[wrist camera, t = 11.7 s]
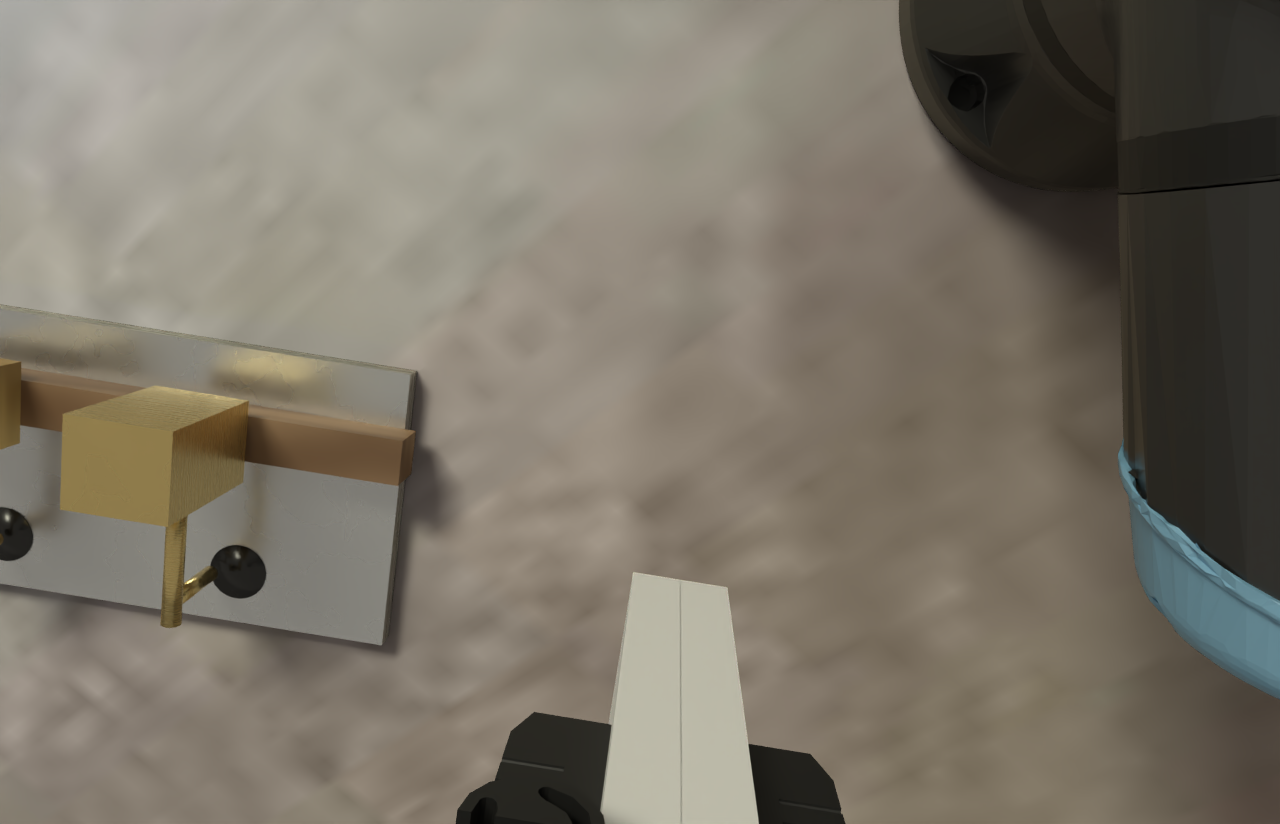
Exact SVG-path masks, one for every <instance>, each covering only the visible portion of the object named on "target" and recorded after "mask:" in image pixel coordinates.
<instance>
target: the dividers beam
mask: <svg viewBox="0 0 1280 824" xmlns="http://www.w3.org/2000/svg"><path fill="white" fill-rule="evenodd" d="M142 389H145V387H138V386H132V385H126V384H120V383H113V382H107V381H101V380H95V379H88V378H82V377H76V376H70V375H63V374H57V373H51V372H45V371H38V370H32V369H26V368H21V361H14V360H8V359H2V358H0V450H1V449H4V448H7V447H10V446H13V445H16V444H19V443H20V425H21V426H28V427H34V428H40V429H46V430H53V431H59V432H62V423H63V414H64V413H68V412H71V411H74V410H77V409H81V408H84V407H87V406H90V405H94V404H97V403H100V402H103V401H107V400H110V399H113V398H116V397H120V396H123V395H126V394H129V393H132V392H136V391H139V390H142ZM415 434H416V431H413V430H407V429H400V428H394V427H388V426H382V425H375V424H369V423H363V422H357V421H350V420H344V419H338V418H332V417H325V416H319V415H313V414H307V413H301V412H294V411H288V410H282V409H276V408H269V407H263V406H257V405H251V404H249V408H248V422H247V437H246V451H245V462H252V463H258V464H264V465H270V466H276V467H283V468H289V469H295V470H301V471H307V472H314V473H320V474H326V475H332V476H339V477H345V478H351V479H357V480H363V481H370V482H376V483H382V484H388V485H395V486H399V485H400V484H401V483H402V482H403V481H404V480H405V479H406V478H407V477H408V476H409V475H410V474H411V471H412V461H413V452H414V443H415ZM3 540H4V539H3V536H2V534H1V533H0V545H1V544H2V543H3Z"/></svg>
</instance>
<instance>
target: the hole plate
mask: <svg viewBox="0 0 1280 824" xmlns="http://www.w3.org/2000/svg"><path fill="white" fill-rule="evenodd" d="M0 358H2V359H8V360H14V361H21V368H26V369H32V370H38V371H45V372H51V373H57V374H63V375H70V376H76V377H82V378H88V379H95V380H101V381H107V382H113V383H120V384H126V385H132V386H138V387H145V388H149V387H152V386H162V387H168V388H174V389H180V390H187V391H193V392H199V393H205V394H212V395H218V396H224V397H230V398H236V399H243V400H249V404H251V405H257V406H263V407H269V408H276V409H282V410H288V411H294V412H301V413H307V414H313V415H319V416H325V417H332V418H338V419H344V420H350V421H357V422H363V423H369V424H375V425H382V426H388V427H394V428H400V429H407V430H411V420H412V411H413V401H414V392H415V383H416V373H417V371H414V370H408V369H402V368H395V367H389V366H383V365H377V364H370V363H364V362H358V361H351V360H345V359H339V358H333V357H326V356H320V355H314V354H308V353H301V352H295V351H289V350H283V349H276V348H270V347H264V346H258V345H251V344H245V343H239V342H233V341H226V340H220V339H214V338H207V337H201V336H195V335H189V334H182V333H176V332H170V331H164V330H157V329H151V328H145V327H139V326H132V325H126V324H120V323H114V322H107V321H101V320H95V319H88V318H82V317H76V316H70V315H63V314H57V313H51V312H45V311H38V310H32V309H26V308H20V307H13V306H7V305H1V304H0ZM61 457H62V432H59V431H53V430H46V429H40V428H34V427H28V426H21V425H20V443H19V444H16V445H13V446H10V447H7V448H4V449H1V450H0V533H1V534H2V536H3V539H4V540H3V543H2V544H1V545H0V583H1V584H7V585H13V586H19V587H25V588H31V589H38V590H44V591H50V592H56V593H62V594H68V595H74V596H81V597H87V598H93V599H99V600H105V601H111V602H118V603H124V604H130V605H136V606H142V607H148V608H154V609H161V604H162V585H163V567H164V548H165V529H166V527H164V526H158V525H152V524H146V523H140V522H133V521H127V520H121V519H115V518H109V517H102V516H96V515H90V514H84V513H78V512H72V511H65V510H60V491H61ZM404 486H405V480H404V481H403V482H402V483H401V484H400V485H399V486H395V485H388V484H382V483H376V482H370V481H363V480H357V479H351V478H345V477H339V476H332V475H326V474H320V473H314V472H307V471H301V470H295V469H289V468H283V467H276V466H270V465H264V464H258V463H252V462H245V465H244V479H243V483H241V484H240V485H238V486H236V487H235V488H233V489H231V490H230V491H228V492H226V493H224V494H223V495H221V496H219V497H218V498H216V499H214V500H213V501H211V502H209V503H208V504H206V505H204V506H203V507H201V508H199V509H198V510H196V511H194V512H192V513H191V514H189V515H188V520H187V537H186V554H185V571H184V582H186V581H187V580H189V579H190V578H191V577H193V576H194V575H195V574H197V573H198V572H200V571H201V570H202V569H204V568H205V567H207V566H213V567H215V568H216V569H217V571H218V577H217V578H216V579H215V580H214V581H212V582H211V583H210V584H208V585H207V586H206V587H204V588H203V589H202V590H201V591H199V592H198V593H197V594H195V595H194V596H193V597H191V598H190V599H189V600H188V601H186V602H185V603H184V604H183V605H182V613H185V614H191V615H198V616H204V617H210V618H216V619H222V620H228V621H235V622H241V623H247V624H253V625H259V626H265V627H271V628H278V629H284V630H290V631H296V632H302V633H308V634H315V635H321V636H327V637H333V638H339V639H345V640H351V641H358V642H364V643H370V644H376V645H383V643H384V642H385V640H386V639H387V637H388V635H389V626H390V616H391V607H392V598H393V588H394V579H395V570H396V560H397V551H398V542H399V532H400V523H401V514H402V504H403V495H404Z"/></svg>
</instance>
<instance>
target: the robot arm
mask: <svg viewBox="0 0 1280 824" xmlns="http://www.w3.org/2000/svg"><path fill="white" fill-rule="evenodd" d="M899 26H900V36H901V44H902V49H903V54H904V59H905V63H906V66H907V70H908V73H909V76H910V79H911V81H912V84H913V86H914V89H915V91H916V93H917V95H918V98H919V99H920V101H921V103H922V105H923V107H924V109H925V110H926V112H927V113H928V115H929V116H930V118H931V119H932V121H933V122H934V124H935V125H936V126H937V127H938V129H939V130H940V131H941V133H942V134H943V135H944V136H945V137H946V138H947V139H948V140H949V141H950V142H951V143H952V144H953V145H954V146H955V147H956V148H957V149H958V150H959V151H960V152H962V153H963V154H964V155H965V156H967V157H968V158H969V159H971V160H972V161H974V162H975V163H976V164H978V165H979V166H981V167H983V168H984V169H986V170H988V171H990V172H992V173H994V174H996V175H998V176H1000V177H1002V178H1004V179H1007V180H1010V181H1012V182H1015V183H1018V184H1022V185H1025V186H1029V187H1033V188H1039V189H1044V190H1052V191H1069V192H1072V191H1091V190H1102V189H1112V188H1119V194H1118V223H1119V251H1120V291H1121V340H1122V389H1123V442H1122V446H1121V448H1120V451H1119V453H1118V466H1119V474H1120V477H1121V480H1122V483H1123V486H1124V489H1125V490H1126V492H1127V494H1128V495H1129V505H1130V517H1131V528H1132V540H1133V551H1134V560H1135V566H1136V570H1137V573H1138V576H1139V579H1140V582H1141V585H1142V587H1143V589H1144V591H1145V593H1146V595H1147V596H1148V598H1149V600H1150V601H1151V602H1152V603H1153V605H1154V606H1155V607H1156V608H1157V609H1158V610H1159V611H1160V612H1161V613H1162V614H1163V615H1164V616H1165V617H1167V619H1168V621H1169V622H1170V623H1171V624H1172V626H1173V628H1174V629H1175V631H1176V632H1177V633H1178V634H1179V635H1180V636H1181V637H1182V638H1183V639H1184V640H1185V641H1186V642H1187V643H1188V644H1190V645H1191V646H1192V647H1193V648H1195V649H1196V650H1197V651H1198V652H1200V653H1201V654H1203V655H1204V656H1205V657H1207V658H1208V659H1209V660H1211V661H1212V662H1214V663H1215V664H1217V665H1218V666H1220V667H1221V668H1223V669H1224V670H1226V671H1227V672H1229V673H1231V674H1232V675H1234V676H1236V677H1237V678H1239V679H1241V680H1242V681H1244V682H1246V683H1248V684H1250V685H1252V686H1253V687H1255V688H1257V689H1259V690H1261V691H1263V692H1265V693H1267V694H1269V695H1271V696H1273V697H1275V698H1277V699H1280V0H899ZM456 824H845V821H844V817H843V814H841V807H840V803H839V799H838V796H837V792H836V789H835V785H834V781H833V780H832V779H831V777H830V776H829V775H828V774H827V773H826V772H825V771H824V769H823V768H822V767H821V766H820V765H819V764H818V762H817V761H816V760H815V759H814V758H813V757H812V755H811V754H807V753H801V752H795V751H789V750H782V749H776V748H770V747H764V746H758V745H752V744H748V739H747V731H746V724H745V716H744V709H743V701H742V694H741V686H740V679H739V671H738V664H737V657H736V649H735V642H734V634H733V627H732V619H731V612H730V604H729V597H728V589H727V587H722V586H716V585H709V584H703V583H697V582H691V581H685V580H678V579H672V578H666V577H660V576H654V575H647V574H641V573H635V572H633V577H632V583H631V589H630V595H629V601H628V608H627V614H626V620H625V626H624V632H623V638H622V645H621V651H620V657H619V663H618V669H617V675H616V682H615V688H614V694H613V700H612V706H611V712H610V719H609V724H604V723H598V722H592V721H586V720H580V719H573V718H567V717H561V716H555V715H549V714H543V713H537V712H534V713H533V714H531V715H530V716H529V717H528V718H527V719H525V720H524V721H523V722H522V723H520V724H519V725H518V726H517V727H516V728H514V729H513V730H512V731H511V733H510V736H509V739H508V742H507V745H506V748H505V751H504V754H503V757H502V762H501V763H500V766H499V769H498V772H497V775H496V778H495V781H492V782H489V783H487V784H485V785H483V786H482V787H480V788H478V789H476V790H475V791H473V792H471V793H469V795H468V796H467V797H466V799H465V800H464V802H463V803H462V804H461V806H460V807H459V808H458V810H457V818H456Z"/></svg>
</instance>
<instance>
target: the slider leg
mask: <svg viewBox="0 0 1280 824" xmlns="http://www.w3.org/2000/svg"><path fill="white" fill-rule="evenodd" d="M248 408H249V400H243V399H236V398H230V397H224V396H218V395H212V394H205V393H199V392H193V391H187V390H180V389H174V388H168V387H162V386H152V387H149V388H145V389H142V390H139V391H136V392H132V393H129V394H126V395H123V396H120V397H116V398H113V399H110V400H107V401H103V402H100V403H97V404H94V405H90V406H87V407H84V408H81V409H77V410H74V411H71V412H68V413H64V414H63V423H62V457H61V491H60V510H65V511H72V512H78V513H84V514H90V515H96V516H102V517H109V518H115V519H121V520H127V521H133V522H140V523H146V524H152V525H158V526H164V527H166V529H165V548H164V567H163V585H162V604H161V623H160V625H161V626H163V627H166V628H173V627H177V626H180V625H181V623H182V605H183V604H184V603H185V602H186V601H188V600H189V599H190V598H191V597H193V596H194V595H195V594H197V593H198V592H199V591H201V590H202V589H203V588H204V587H206V586H207V585H208V584H210V583H211V582H212V581H214V580H215V579H216V578H217V577H218V571H217V569H216V568H215V567H213V566H207V567H205V568H204V569H202V570H201V571H200V572H198V573H197V574H195V575H194V576H193V577H191V578H190V579H189V580H187V581H186V582H184V571H185V554H186V537H187V520H188V515H189V514H191V513H192V512H194V511H196V510H198V509H199V508H201V507H203V506H204V505H206V504H208V503H209V502H211V501H213V500H214V499H216V498H218V497H219V496H221V495H223V494H224V493H226V492H228V491H230V490H231V489H233V488H235V487H236V486H238V485H240V484H241V483H243V479H244V465H245V451H246V437H247V422H248Z"/></svg>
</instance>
